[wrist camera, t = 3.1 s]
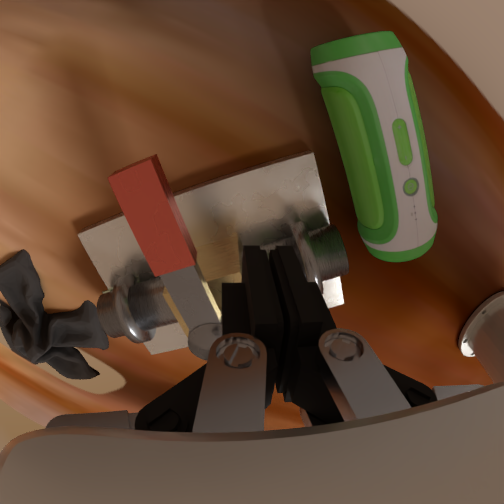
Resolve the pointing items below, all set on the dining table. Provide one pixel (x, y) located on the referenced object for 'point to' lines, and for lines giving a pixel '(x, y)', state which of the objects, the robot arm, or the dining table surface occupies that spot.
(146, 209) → the lever
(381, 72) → the speaker
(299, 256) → the valve pipe
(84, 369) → the cloth
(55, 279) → the dining table surface
